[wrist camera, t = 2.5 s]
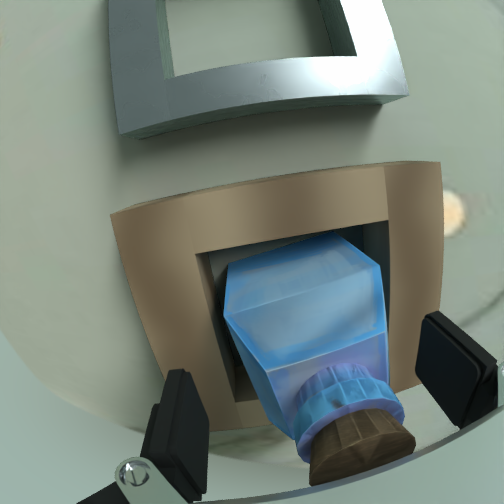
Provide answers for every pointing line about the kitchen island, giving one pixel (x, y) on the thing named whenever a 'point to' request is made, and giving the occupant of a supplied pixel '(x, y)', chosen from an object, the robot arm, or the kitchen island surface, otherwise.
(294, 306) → the perfume bottle
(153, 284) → the tan square frame
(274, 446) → the kitchen island surface
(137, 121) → the block
